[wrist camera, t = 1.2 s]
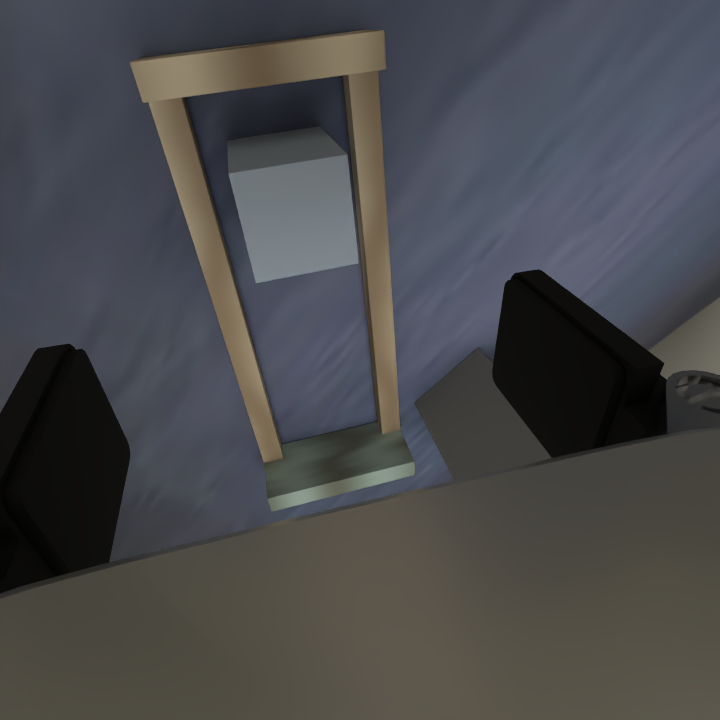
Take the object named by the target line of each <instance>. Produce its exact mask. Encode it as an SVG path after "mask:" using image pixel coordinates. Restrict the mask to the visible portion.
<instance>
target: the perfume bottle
mask: <svg viewBox="0 0 720 720" xmlns="http://www.w3.org/2000/svg"><path fill="white" fill-rule="evenodd" d="M492 368H493V362H492V361H491V360H490V359H489V358H488V357H487V356H486V355H485V354H484V353H483V352H482V351H481V350H480V349H479V348H477V349H476V350H475V351H474V352H473V353H471V354H470V355H469V356H468V357H467V358H466V359H464V360H463V361H462V362H461V363H460V364H459V365H458V366H456V367H455V368H454V369H453V370H452V371H451V372H449V373H448V374H447V375H446V376H445V377H444V378H443V379H441V380H440V381H439V382H438V383H437V384H436V385H434V386H433V387H432V388H431V389H430V390H429V391H428V392H426V393H425V394H424V395H423V396H422V397H421V398H419V399H418V400H417V401H416V402H415V404H416V406H417V408H418V410H419V412H420V414H421V416H422V418H423V420H424V422H425V424H426V426H427V428H428V430H429V432H430V434H431V436H432V438H433V440H434V442H435V444H436V446H437V447H438V449H439V451H440V453H441V455H442V457H443V459H444V461H445V463H446V465H447V467H448V469H449V471H450V473H451V475H452V477H453V479H454V480H458V479H463V478H467V477H471V476H476V475H480V474H485V473H489V472H493V471H498V470H502V469H507V468H511V467H515V466H520V465H524V464H529V463H533V462H538V461H542V460H546V459H551V456H550V455H549V454H548V452H547V451H546V450H545V449H544V447H543V446H542V445H541V443H540V442H539V441H538V440H537V438H536V437H535V436H534V434H533V433H532V432H531V430H530V429H529V428H528V427H527V425H526V424H525V423H524V421H523V420H522V419H521V418H520V416H519V415H518V414H517V412H516V411H515V410H514V409H513V407H512V406H511V405H510V403H509V402H508V401H507V399H506V398H505V397H504V396H503V394H502V393H501V392H500V390H499V389H498V388H497V387H496V385H495V383H494V381H493V377H492Z"/></svg>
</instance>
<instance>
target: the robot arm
mask: <svg viewBox="0 0 720 720" xmlns="http://www.w3.org/2000/svg"><path fill="white" fill-rule="evenodd" d="M663 365H664V363H663V362H662V361H661V360H659V359H658V358H657V357H655V356H654V355H653V354H651V353H650V352H649V351H647V350H646V349H645V348H643V347H642V346H641V345H639V344H638V343H637V342H635V341H634V340H633V339H632V338H630V337H629V336H628V335H626V334H625V333H624V332H622V331H621V330H620V329H618V328H617V327H616V326H614V325H613V324H612V323H610V322H609V321H608V320H606V319H605V318H604V317H602V316H601V315H600V314H598V313H597V312H596V311H594V310H593V309H592V308H590V307H589V306H588V305H586V304H585V303H584V302H583V301H581V300H580V299H579V298H577V297H576V296H575V295H573V294H572V293H571V292H569V291H568V290H567V289H565V288H564V287H563V286H561V285H560V284H559V283H557V282H556V281H555V280H553V279H552V278H551V277H549V276H548V275H547V274H545V273H544V272H543V271H541V270H531V271H525V272H519V273H515V274H514V275H513V276H512V278H511V280H508V281H507V282H506V284H505V287H504V293H503V300H502V307H501V314H500V320H499V327H498V334H497V341H496V348H495V355H494V361H493V368H492V377H493V381H494V383H495V385H496V387H497V388H498V389H499V390H500V392H501V393H502V394H503V396H504V397H505V398H506V399H507V401H508V402H509V403H510V405H511V406H512V407H513V409H514V410H515V411H516V412H517V414H518V415H519V416H520V418H521V419H522V420H523V421H524V423H525V424H526V425H527V427H528V428H529V429H530V430H531V432H532V433H533V434H534V436H535V437H536V438H537V440H538V441H539V442H540V443H541V445H542V446H543V447H544V449H545V450H546V451H547V452H548V454H549V455H550V456H551V459H546V460H542V461H538V462H533V463H529V464H524V465H520V466H515V467H511V468H507V469H502V470H498V471H493V472H489V473H485V474H480V475H476V476H471V477H467V478H463V479H458V480H454V481H450V482H445V483H441V484H437V485H432V486H428V487H424V488H420V489H415V490H411V491H407V492H402V493H398V494H394V495H389V496H385V497H381V498H376V499H372V500H368V501H364V502H359V503H355V504H351V505H347V506H342V507H338V508H334V509H329V510H325V511H321V512H317V513H312V514H308V515H304V516H300V517H296V518H291V519H287V520H283V521H279V522H275V523H270V524H266V525H262V526H258V527H254V528H249V529H245V530H241V531H237V532H233V533H228V534H224V535H220V536H216V537H212V538H207V539H203V540H199V541H195V542H191V543H186V544H182V545H178V546H174V547H170V548H166V549H162V550H158V551H154V552H150V553H145V554H141V555H137V556H133V557H129V558H125V559H121V560H117V561H113V562H109V560H110V555H111V550H112V545H113V540H114V535H115V530H116V525H117V520H118V515H119V510H120V505H121V500H122V495H123V490H124V485H125V481H126V476H127V471H128V466H129V461H130V448H129V444H128V442H127V439H126V437H125V435H124V433H123V431H122V429H121V426H120V424H119V422H118V420H117V418H116V416H115V414H114V411H113V409H112V407H111V405H110V403H109V401H108V399H107V396H106V394H105V392H104V390H103V388H102V386H101V384H100V381H99V379H98V377H97V375H96V373H95V371H94V369H93V366H92V364H91V362H90V360H89V358H88V356H87V354H86V352H85V351H84V350H83V349H77V350H76V349H75V348H74V347H73V346H72V345H71V344H64V345H58V346H51V347H45V348H39V349H37V350H36V351H35V352H34V354H33V356H32V358H31V359H30V361H29V363H28V365H27V367H26V368H25V370H24V372H23V374H22V375H21V377H20V379H19V381H18V383H17V384H16V386H15V388H14V390H13V392H12V393H11V395H10V397H9V399H8V400H7V402H6V404H5V406H4V408H3V409H2V411H1V413H0V720H720V375H716V374H713V373H709V372H704V371H696V370H691V371H680V372H677V373H673V374H672V375H671V376H670V377H668V379H667V380H666V379H665V378H664V377H662V376H661V375H660V372H661V370H662V367H663Z"/></svg>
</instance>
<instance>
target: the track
mask: <svg viewBox="0 0 720 720" xmlns="http://www.w3.org/2000/svg"><path fill="white" fill-rule="evenodd" d="M130 65H131V68H132V71H133V74H134V77H135V80H136V83H137V86H138V89H139V92H140V95H141V98H142V101H143V103H145V102H149V106H150V109H151V112H152V115H153V118H154V121H155V124H156V127H157V131H158V134H159V137H160V140H161V143H162V146H163V149H164V152H165V155H166V159H167V162H168V165H169V168H170V171H171V174H172V177H173V180H174V184H175V187H176V190H177V193H178V196H179V199H180V202H181V205H182V208H183V212H184V215H185V218H186V221H187V224H188V227H189V230H190V233H191V237H192V240H193V243H194V246H195V249H196V252H197V255H198V258H199V262H200V265H201V268H202V271H203V274H204V277H205V280H206V283H207V286H208V290H209V293H210V296H211V299H212V302H213V305H214V308H215V311H216V315H217V318H218V321H219V324H220V327H221V330H222V333H223V336H224V340H225V343H226V346H227V349H228V352H229V355H230V358H231V361H232V364H233V368H234V371H235V374H236V377H237V380H238V383H239V386H240V389H241V393H242V396H243V399H244V402H245V405H246V408H247V411H248V414H249V418H250V421H251V424H252V427H253V430H254V433H255V436H256V439H257V442H258V446H259V449H260V452H261V455H262V458H263V461H264V468H265V478H266V488H267V498H268V502H269V505H270V508H271V511H276V510H280V509H284V508H288V507H292V506H296V505H299V504H303V503H307V502H311V501H315V500H319V499H323V498H327V497H331V496H334V495H338V494H342V493H346V492H350V491H354V490H358V489H362V488H366V487H369V486H373V485H377V484H381V483H385V482H389V481H393V480H397V479H401V478H404V477H408V476H412V475H415V466H414V460H413V457H412V455H411V453H410V451H409V448H408V446H407V444H406V442H405V439H404V437H403V435H402V433H401V430H400V417H399V401H398V385H397V369H396V353H395V337H394V321H393V305H392V289H391V272H390V256H389V240H388V224H387V208H386V192H385V176H384V160H383V144H382V127H381V111H380V95H379V79H378V70H385V69H386V56H385V38H384V30H360V31H352V32H344V33H336V34H328V35H320V36H312V37H304V38H296V39H288V40H280V41H272V42H264V43H256V44H248V45H240V46H232V47H224V48H216V49H209V50H201V51H193V52H185V53H177V54H169V55H161V56H153V57H145V58H139V59H136V60H134V61H132V62H130ZM334 76H343V86H344V96H345V105H346V115H347V125H348V135H349V145H350V155H351V165H352V175H353V185H354V195H355V205H356V214H357V224H358V234H359V244H360V254H361V264H362V274H363V284H364V294H365V304H366V314H367V324H368V333H369V343H370V353H371V363H372V373H373V383H374V393H375V403H376V413H377V422H373V423H369V424H365V425H361V426H357V427H353V428H348V429H344V430H340V431H336V432H332V433H327V434H323V435H319V436H315V437H311V438H307V439H302V440H298V441H294V442H290V443H286V444H281V442H280V438H279V435H278V431H277V427H276V424H275V420H274V417H273V413H272V409H271V406H270V402H269V399H268V395H267V392H266V388H265V384H264V381H263V377H262V374H261V370H260V366H259V363H258V359H257V356H256V352H255V348H254V345H253V341H252V338H251V334H250V331H249V327H248V323H247V320H246V316H245V313H244V309H243V305H242V302H241V298H240V295H239V291H238V287H237V284H236V280H235V277H234V273H233V270H232V266H231V262H230V259H229V255H228V252H227V248H226V244H225V241H224V237H223V234H222V230H221V226H220V223H219V219H218V216H217V212H216V209H215V205H214V201H213V198H212V194H211V191H210V187H209V183H208V180H207V176H206V173H205V169H204V166H203V162H202V158H201V155H200V151H199V148H198V144H197V140H196V137H195V133H194V130H193V126H192V122H191V119H190V115H189V112H188V108H187V105H186V101H185V97H189V96H196V95H204V94H211V93H218V92H225V91H233V90H240V89H247V88H254V87H262V86H269V85H276V84H283V83H291V82H298V81H305V80H313V79H320V78H327V77H334Z"/></svg>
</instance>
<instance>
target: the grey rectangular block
mask: <svg viewBox="0 0 720 720" xmlns="http://www.w3.org/2000/svg"><path fill="white" fill-rule="evenodd" d="M227 155H228V174H229V178H230V182H231V186H232V190H233V194H234V198H235V202H236V206H237V210H238V214H239V218H240V222H241V225H242V229H243V233H244V237H245V241H246V245H247V249H248V253H249V257H250V261H251V265H252V269H253V273H254V277H255V281H256V283H259V282H265V281H270V280H275V279H280V278H285V277H291V276H296V275H301V274H306V273H311V272H316V271H322V270H327V269H332V268H337V267H342V266H348V265H353V264H358V263H359V261H358V251H357V242H356V232H355V223H354V213H353V204H352V194H351V185H350V175H349V165H348V156H347V154H346V153H345V152H344V151H343V149H342V148H341V147H340V146H339V145H338V144H337V143H336V142H335V141H334V140H333V139H332V138H331V137H330V136H329V135H328V134H327V133H326V132H325V131H324V130H323V129H322V128H321V127H320V126H318V127H312V128H305V129H298V130H292V131H285V132H278V133H272V134H265V135H259V136H252V137H245V138H239V139H232V140H227Z"/></svg>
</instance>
